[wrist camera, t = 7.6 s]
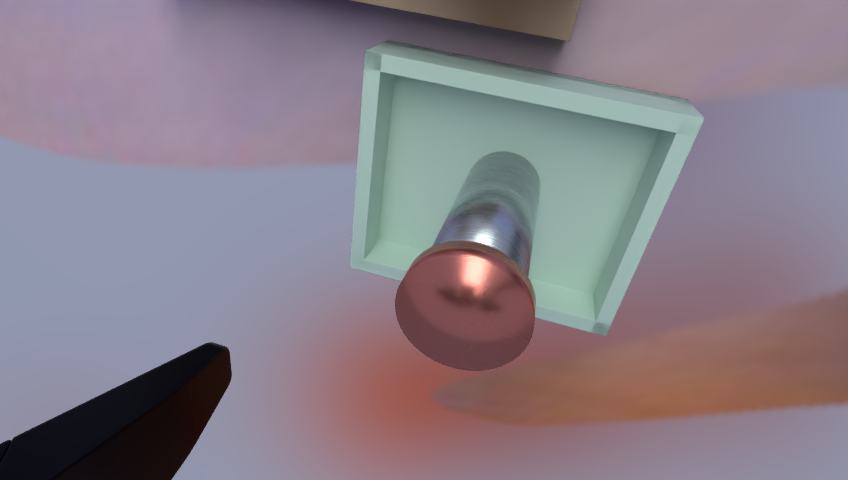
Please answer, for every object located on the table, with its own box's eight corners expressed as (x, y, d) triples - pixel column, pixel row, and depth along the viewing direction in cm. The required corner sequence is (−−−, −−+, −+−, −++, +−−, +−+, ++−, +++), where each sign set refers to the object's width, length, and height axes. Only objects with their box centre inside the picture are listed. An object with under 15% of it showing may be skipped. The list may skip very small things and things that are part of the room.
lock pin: (559, 155, 19) (551, 278, 11) (535, 234, 20) (515, 385, 13) (468, 135, 19) (403, 240, 12) (453, 214, 21) (388, 348, 14)
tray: (687, 99, 17) (704, 118, 15) (601, 300, 22) (605, 336, 20) (387, 40, 19) (365, 50, 17) (369, 240, 24) (350, 267, 21)
